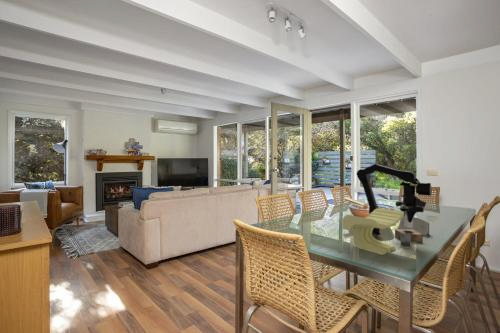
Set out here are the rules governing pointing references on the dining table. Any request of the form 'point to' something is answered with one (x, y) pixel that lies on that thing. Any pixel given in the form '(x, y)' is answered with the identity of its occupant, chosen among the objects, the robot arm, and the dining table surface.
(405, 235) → the cylinder
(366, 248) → the slatted curved stool
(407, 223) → the square bit
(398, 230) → the socket block
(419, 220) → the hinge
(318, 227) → the dining table surface
